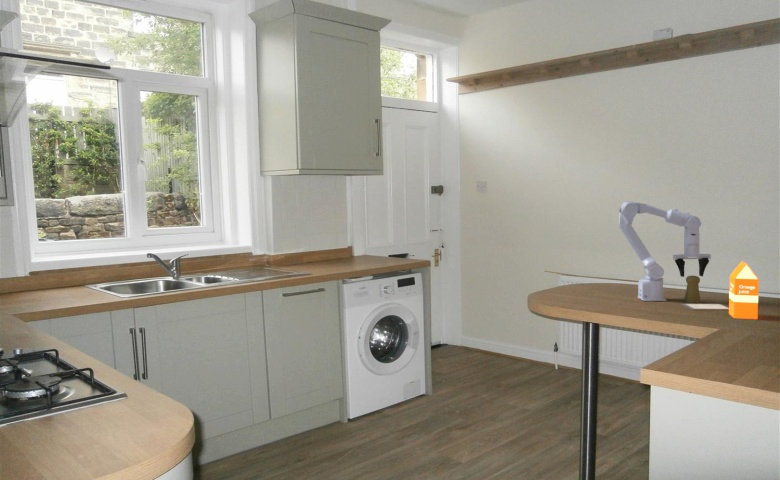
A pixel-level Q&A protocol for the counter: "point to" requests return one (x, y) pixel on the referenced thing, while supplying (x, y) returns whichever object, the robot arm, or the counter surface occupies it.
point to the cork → (692, 290)
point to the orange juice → (743, 293)
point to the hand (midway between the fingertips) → (691, 276)
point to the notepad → (706, 306)
